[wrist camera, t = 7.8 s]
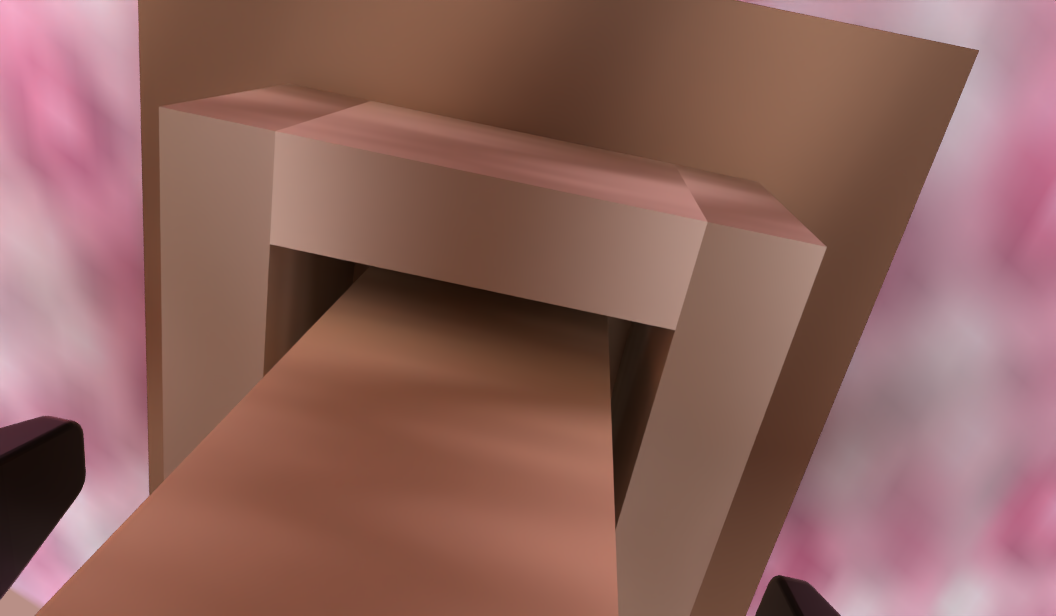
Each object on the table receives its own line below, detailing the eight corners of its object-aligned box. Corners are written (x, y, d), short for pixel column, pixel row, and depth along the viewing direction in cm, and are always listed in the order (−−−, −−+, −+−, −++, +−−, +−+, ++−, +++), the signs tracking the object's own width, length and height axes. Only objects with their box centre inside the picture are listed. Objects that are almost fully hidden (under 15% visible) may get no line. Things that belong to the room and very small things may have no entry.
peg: (606, 278, 13) (627, 854, 4) (562, 453, 15) (502, 1163, 6) (400, 234, 13) (-49, 701, 4) (377, 412, 15) (11, 1049, 6)
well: (950, 48, 12) (1166, 60, 8) (717, 634, 17) (759, 851, 13) (169, -112, 12) (-85, -196, 8) (173, 515, 18) (23, 688, 13)
